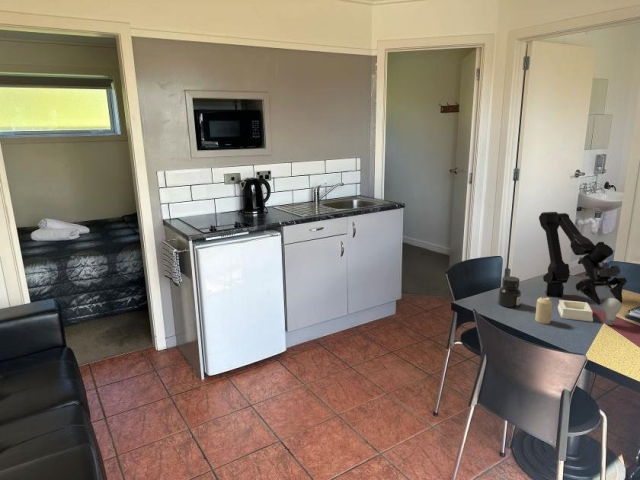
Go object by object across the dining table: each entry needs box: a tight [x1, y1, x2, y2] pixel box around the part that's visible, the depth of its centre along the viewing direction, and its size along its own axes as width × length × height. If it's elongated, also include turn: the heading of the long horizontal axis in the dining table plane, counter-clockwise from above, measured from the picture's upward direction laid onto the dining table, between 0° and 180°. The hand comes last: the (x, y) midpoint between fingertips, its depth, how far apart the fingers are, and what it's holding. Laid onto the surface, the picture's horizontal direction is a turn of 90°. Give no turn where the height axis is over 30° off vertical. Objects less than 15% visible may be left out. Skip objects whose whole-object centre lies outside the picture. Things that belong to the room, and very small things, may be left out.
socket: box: [557, 299, 594, 322], centre depth 183 cm, size 11×11×4 cm
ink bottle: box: [497, 275, 522, 309], centre depth 195 cm, size 10×9×12 cm
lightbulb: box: [602, 297, 623, 326], centre depth 172 cm, size 6×6×11 cm
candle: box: [534, 296, 553, 325], centre depth 177 cm, size 6×6×10 cm
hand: (610, 303), depth 173 cm, fingers open, 9 cm apart
